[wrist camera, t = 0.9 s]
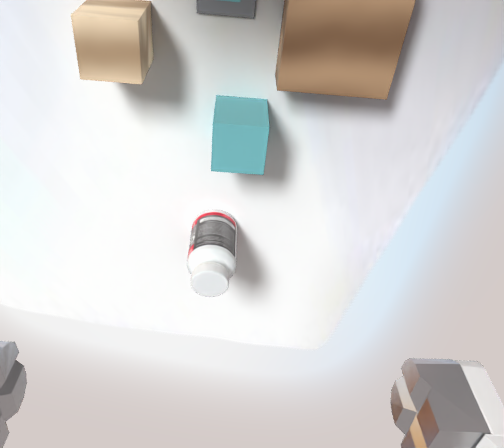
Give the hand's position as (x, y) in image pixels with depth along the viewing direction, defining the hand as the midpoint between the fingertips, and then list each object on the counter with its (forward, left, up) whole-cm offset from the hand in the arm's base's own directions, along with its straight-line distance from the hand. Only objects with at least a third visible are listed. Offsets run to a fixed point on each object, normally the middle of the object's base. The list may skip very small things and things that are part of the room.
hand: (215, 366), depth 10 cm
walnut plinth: (+3, +9, -37) cm, 39 cm away
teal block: (+13, +1, -37) cm, 39 cm away
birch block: (+5, -10, -37) cm, 39 cm away
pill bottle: (+27, -1, -37) cm, 46 cm away
